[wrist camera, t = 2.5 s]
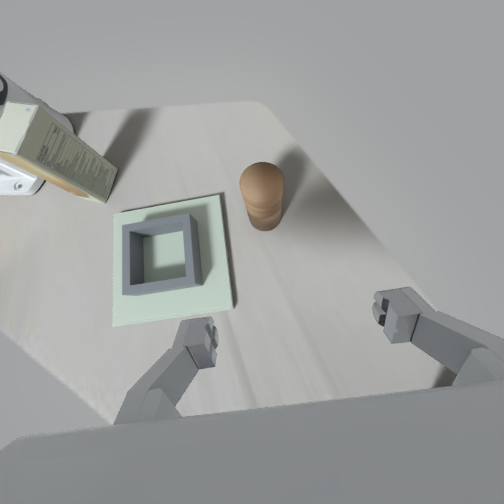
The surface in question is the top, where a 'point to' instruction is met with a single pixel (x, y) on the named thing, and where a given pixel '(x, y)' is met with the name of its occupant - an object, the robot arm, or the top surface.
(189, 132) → the top surface
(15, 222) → the top surface
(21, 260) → the top surface
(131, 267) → the collar holder
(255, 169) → the brown dome-topped peg
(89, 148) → the skincare box
